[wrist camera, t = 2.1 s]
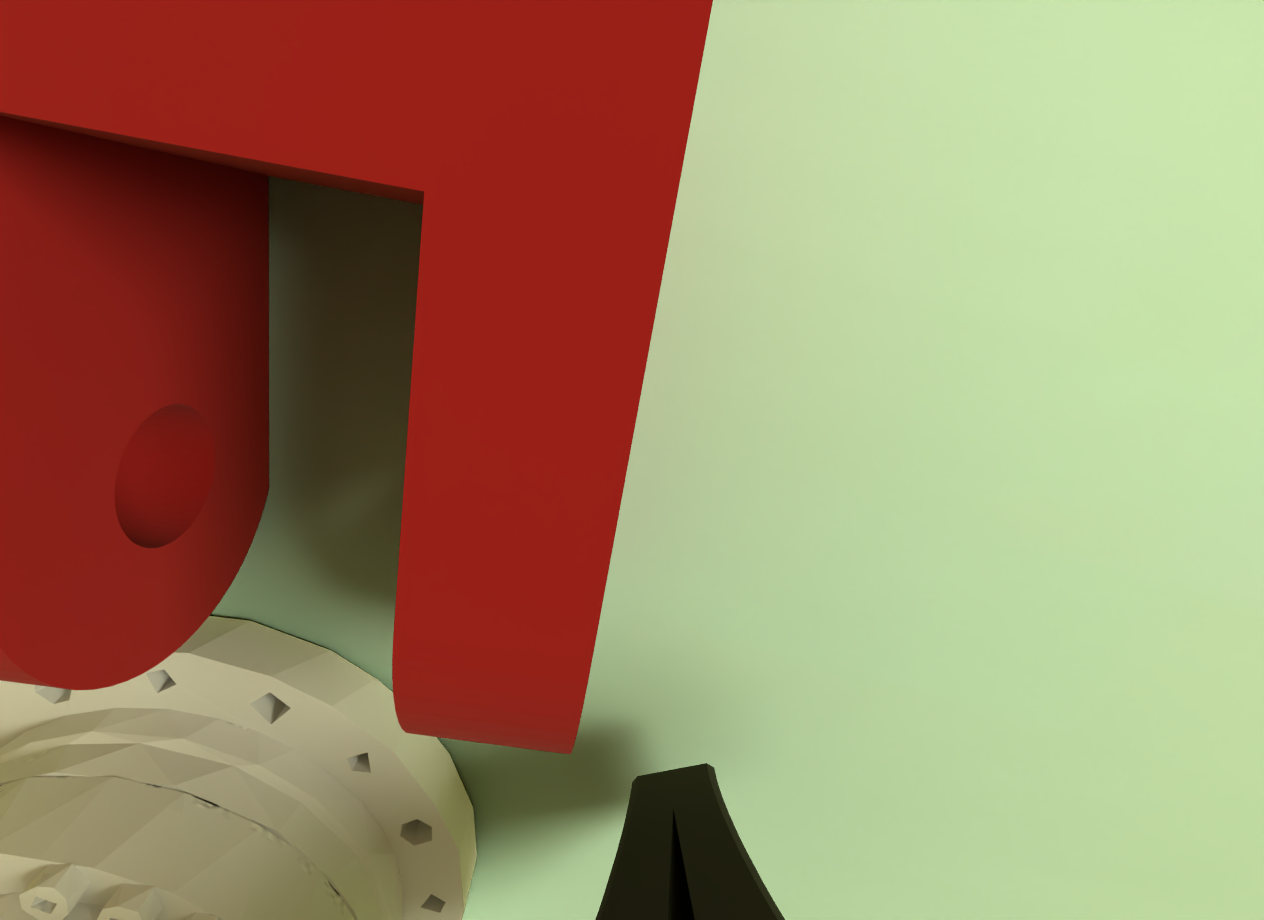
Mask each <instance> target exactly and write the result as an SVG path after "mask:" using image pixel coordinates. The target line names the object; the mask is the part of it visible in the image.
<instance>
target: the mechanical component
mask: <svg viewBox="0 0 1264 920" xmlns="http://www.w3.org/2000/svg"><path fill="white" fill-rule="evenodd" d="M476 859H477V850H476V836H475V823H474V809H473V806H472V804H471V801H470V799H469V797H468V795H467V792H466V790H465V788H464V786H463V783H462V781H461V779H460V776H459V774H458V772H457V770H456V767H455V765H454V763H453V761H452V758H451V756H450V754H449V753H448V751H447V750H446V749H445V748H444V746H443V745H442V744H441V743H440V741H439V740H438V739H437V738H436V737H433V736H425V735H417V734H410V733H406V732H405V731H403V730H402V728H401V726H400V724H399V722H398V719H397V715H396V711H395V704H394V697H393V692H392V691H390V690H389V689H388V688H387V687H386V686H384V685H383V684H382V683H381V682H380V681H378V680H377V679H376V678H374V677H373V676H371V675H370V674H368V673H366V672H365V671H363V670H362V669H360V668H358V667H357V666H355V665H354V664H352V663H350V662H349V661H347V660H346V659H344V658H343V657H341V656H339V655H338V654H336V653H335V652H333V651H331V650H329V649H326V648H323V647H320V646H318V645H315V644H312V643H310V642H307V641H304V640H301V639H299V638H296V637H293V636H291V635H288V634H285V633H282V632H280V631H277V630H274V629H271V628H269V627H266V626H263V625H261V624H258V623H255V622H252V621H248V620H240V619H231V618H223V617H215V616H209V617H208V618H207V619H206V620H205V622H204V623H203V624H202V625H201V626H200V628H199V629H198V630H197V631H196V632H195V633H194V634H193V635H192V636H191V637H190V638H189V639H188V640H187V641H186V642H185V643H184V644H183V645H182V646H181V647H180V648H178V649H177V650H176V651H175V652H174V653H173V654H171V655H170V656H169V657H167V658H166V659H165V660H163V661H162V662H161V663H159V664H158V665H156V666H155V667H153V668H152V669H150V670H148V671H147V672H145V673H143V674H141V675H139V676H137V677H135V678H133V679H131V680H129V681H126V682H123V683H120V684H117V685H114V686H111V687H106V688H101V689H95V690H70V689H62V688H54V687H47V686H39V685H31V684H24V683H16V682H8V681H0V920H462V917H463V914H464V910H465V906H466V902H467V897H468V893H469V889H470V885H471V880H472V876H473V872H474V868H475V863H476Z"/></svg>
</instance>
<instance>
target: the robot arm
mask: <svg viewBox="0 0 1264 920" xmlns="http://www.w3.org/2000/svg"><path fill="white" fill-rule="evenodd" d="M596 920H785V919H784V917H783V916H782V914H781V912H780V911H779V909H778V907H777V906H776V904H775V902H774V901H773V899H772V897H771V895H770V894H769V892H768V890H767V888H766V887H765V885H764V883H763V881H762V880H761V878H760V876H759V874H758V872H757V870H756V868H755V866H754V864H753V863H752V861H751V859H750V857H749V855H748V853H747V851H746V849H745V847H744V845H743V843H742V841H741V839H740V837H739V835H738V833H737V831H736V829H735V826H734V824H733V822H732V820H731V817H730V815H729V813H728V810H727V808H726V805H725V803H724V800H723V798H722V795H721V792H720V789H719V786H718V782H717V779H716V774H715V770H714V767H712V766H710V765H709V764H707V763H706V764H700V765H695V766H690V767H684V768H679V769H674V770H668V771H663V772H657V773H652V774H647V775H641V776H637V777H636V779H635V780H634V781H633V782H632V788H631V795H630V800H629V805H628V810H627V814H626V819H625V823H624V827H623V831H622V835H621V839H620V842H619V846H618V850H617V854H616V857H615V860H614V864H613V867H612V870H611V873H610V877H609V880H608V883H607V886H606V890H605V893H604V896H603V899H602V902H601V905H600V908H599V911H598V914H597V917H596Z"/></svg>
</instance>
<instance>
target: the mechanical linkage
mask: <svg viewBox="0 0 1264 920" xmlns="http://www.w3.org/2000/svg"><path fill="white" fill-rule="evenodd" d="M712 2H713V0H0V681H8V682H16V683H24V684H31V685H39V686H47V687H54V688H62V689H70V690H95V689H101V688H106V687H111V686H114V685H117V684H120V683H123V682H126V681H129V680H131V679H133V678H135V677H137V676H139V675H141V674H143V673H145V672H147V671H148V670H150V669H152V668H153V667H155V666H156V665H158V664H159V663H161V662H162V661H163V660H165V659H166V658H167V657H169V656H170V655H171V654H173V653H174V652H175V651H176V650H177V649H178V648H180V647H181V646H182V645H183V644H184V643H185V642H186V641H187V640H188V639H189V638H190V637H191V636H192V635H193V634H194V633H195V632H196V631H197V630H198V629H199V628H200V626H201V625H202V624H203V623H204V622H205V620H206V619H207V618H208V617H209V616H210V614H211V613H212V612H213V610H214V609H215V608H216V606H217V605H218V603H219V602H220V601H221V599H222V598H223V596H224V595H225V593H226V591H227V590H228V588H229V587H230V585H231V583H232V582H233V580H234V578H235V576H236V574H237V573H238V571H239V569H240V567H241V565H242V563H243V561H244V559H245V557H246V555H247V553H248V550H249V548H250V546H251V543H252V541H253V539H254V536H255V533H256V530H257V528H258V525H259V522H260V519H261V516H262V513H263V509H264V506H265V502H266V498H267V494H268V490H269V176H272V177H277V178H283V179H288V180H293V181H299V182H304V183H309V184H315V185H320V186H326V187H331V188H336V189H342V190H347V191H352V192H358V193H363V194H368V195H374V196H379V197H385V198H390V199H395V200H401V201H406V202H411V203H417V204H422V205H423V216H422V231H421V245H420V260H419V274H418V288H417V303H416V317H415V332H414V346H413V361H412V375H411V390H410V404H409V419H408V433H407V448H406V462H405V476H404V491H403V505H402V520H401V534H400V549H399V563H398V578H397V592H396V607H395V621H394V637H393V657H392V680H393V697H394V704H395V711H396V715H397V719H398V722H399V724H400V726H401V728H402V730H403V731H405V732H406V733H410V734H417V735H425V736H433V737H440V738H448V739H456V740H463V741H471V742H479V743H487V744H494V745H502V746H510V747H517V748H525V749H533V750H541V751H548V752H556V753H564V754H571V752H572V750H573V747H574V743H575V739H576V736H577V731H578V727H579V723H580V718H581V713H582V709H583V704H584V699H585V694H586V689H587V684H588V678H589V673H590V668H591V662H592V657H593V651H594V646H595V640H596V635H597V630H598V624H599V619H600V613H601V608H602V602H603V597H604V591H605V586H606V580H607V575H608V570H609V564H610V559H611V553H612V548H613V542H614V537H615V531H616V526H617V520H618V515H619V510H620V504H621V499H622V493H623V488H624V482H625V477H626V471H627V466H628V460H629V455H630V450H631V444H632V439H633V433H634V428H635V422H636V417H637V411H638V406H639V400H640V395H641V390H642V384H643V379H644V373H645V368H646V362H647V357H648V351H649V346H650V340H651V335H652V329H653V324H654V319H655V313H656V308H657V302H658V297H659V291H660V286H661V280H662V275H663V269H664V264H665V259H666V253H667V248H668V242H669V237H670V231H671V226H672V220H673V215H674V209H675V204H676V199H677V193H678V188H679V182H680V177H681V171H682V166H683V160H684V155H685V149H686V144H687V139H688V133H689V128H690V122H691V117H692V111H693V106H694V100H695V95H696V89H697V84H698V79H699V73H700V68H701V62H702V57H703V51H704V46H705V40H706V35H707V29H708V24H709V18H710V13H711V8H712Z"/></svg>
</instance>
